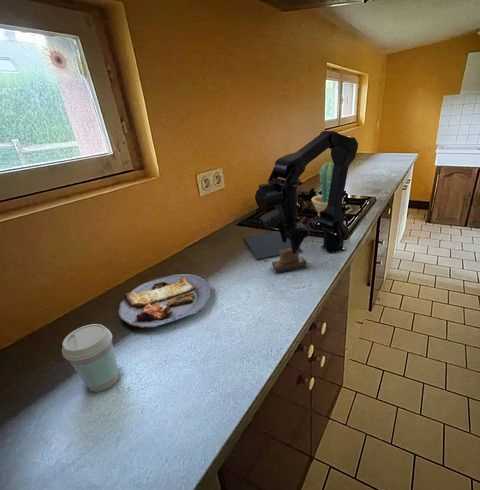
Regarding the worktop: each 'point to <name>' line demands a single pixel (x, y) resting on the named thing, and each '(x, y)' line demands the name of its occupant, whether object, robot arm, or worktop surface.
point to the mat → (267, 245)
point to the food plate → (164, 300)
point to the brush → (288, 261)
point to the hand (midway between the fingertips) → (289, 247)
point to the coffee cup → (92, 356)
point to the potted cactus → (324, 187)
